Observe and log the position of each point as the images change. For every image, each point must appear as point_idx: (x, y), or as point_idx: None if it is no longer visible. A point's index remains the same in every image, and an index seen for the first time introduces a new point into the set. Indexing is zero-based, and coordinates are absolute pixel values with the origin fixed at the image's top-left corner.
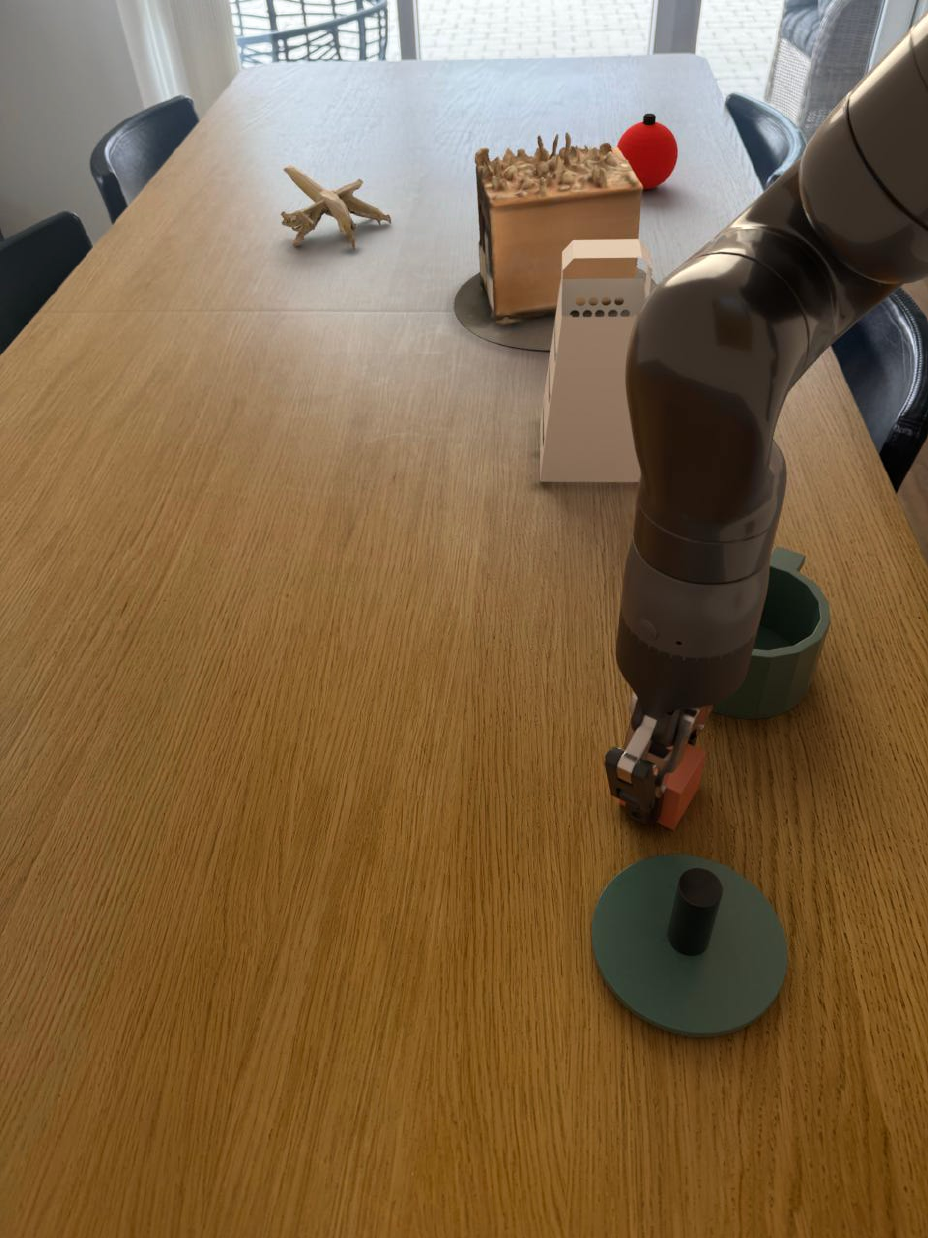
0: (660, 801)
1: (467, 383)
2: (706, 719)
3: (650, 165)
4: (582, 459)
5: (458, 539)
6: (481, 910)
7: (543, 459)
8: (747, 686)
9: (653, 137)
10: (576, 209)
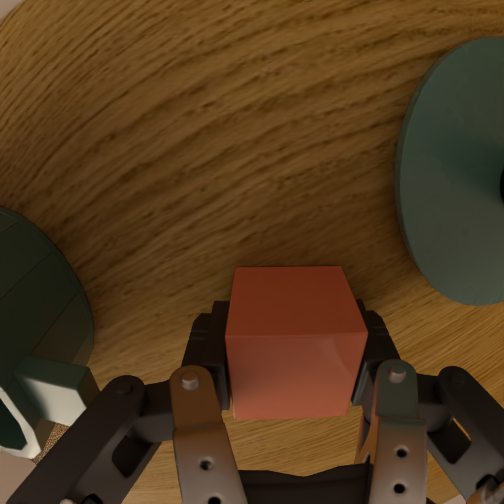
0: (372, 339)
1: None
2: (219, 440)
3: None
4: (6, 462)
5: (125, 497)
6: (493, 366)
7: None
8: (29, 311)
9: None
10: None
